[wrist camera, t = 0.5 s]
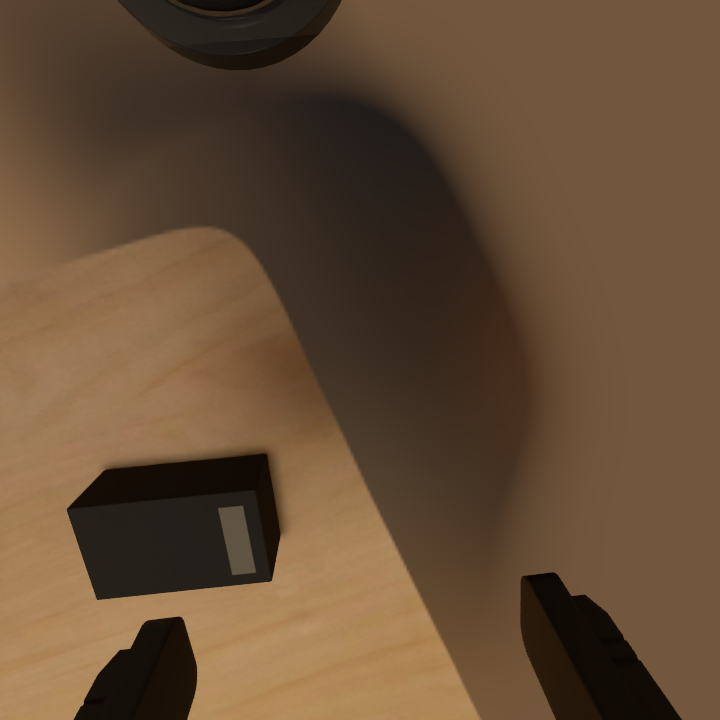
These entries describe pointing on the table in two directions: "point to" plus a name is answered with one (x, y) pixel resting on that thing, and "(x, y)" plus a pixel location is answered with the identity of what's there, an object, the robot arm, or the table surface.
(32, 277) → the table surface
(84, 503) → the black box
